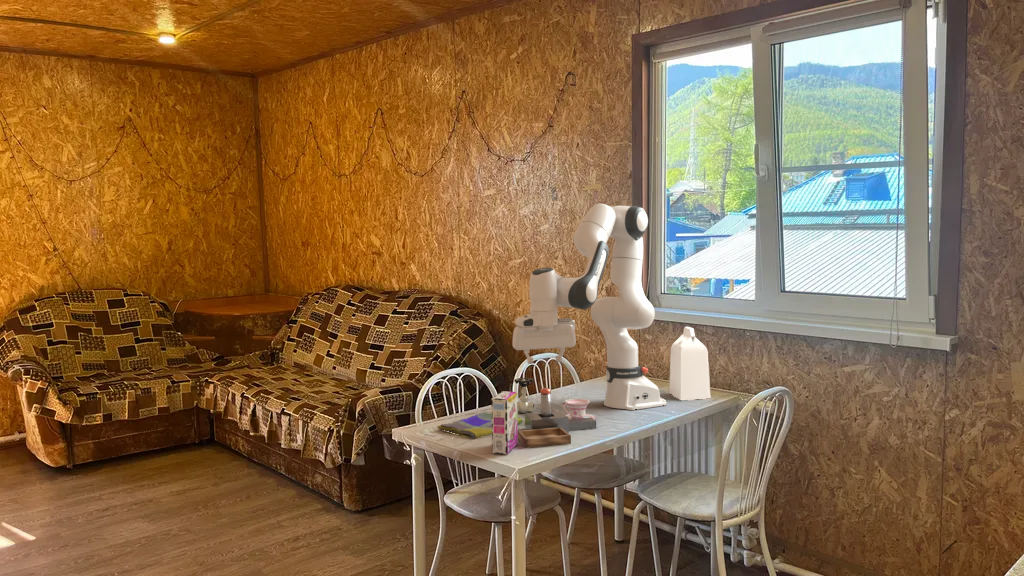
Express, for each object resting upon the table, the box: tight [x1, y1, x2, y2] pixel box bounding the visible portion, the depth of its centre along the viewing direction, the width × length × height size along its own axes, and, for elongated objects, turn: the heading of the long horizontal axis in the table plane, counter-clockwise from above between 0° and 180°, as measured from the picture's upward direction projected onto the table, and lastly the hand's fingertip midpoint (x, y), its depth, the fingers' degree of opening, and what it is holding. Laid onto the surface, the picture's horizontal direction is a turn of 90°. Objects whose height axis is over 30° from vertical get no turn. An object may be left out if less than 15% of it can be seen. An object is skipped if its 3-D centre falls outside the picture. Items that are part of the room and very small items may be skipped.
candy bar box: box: [491, 390, 519, 456], centre depth 228 cm, size 11×5×16 cm, turn 163°
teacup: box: [562, 398, 596, 420], centre depth 261 cm, size 12×12×6 cm
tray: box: [518, 427, 572, 448], centre depth 235 cm, size 14×10×2 cm
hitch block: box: [524, 410, 597, 434], centre depth 249 cm, size 22×9×5 cm, turn 103°
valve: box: [513, 377, 535, 414], centre depth 271 cm, size 7×7×12 cm
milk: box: [668, 326, 712, 401], centre depth 289 cm, size 12×12×26 cm
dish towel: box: [437, 411, 523, 440], centre depth 254 cm, size 18×24×3 cm
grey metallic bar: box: [540, 387, 552, 418], centre depth 247 cm, size 3×3×14 cm
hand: (544, 362), depth 246 cm, fingers open, 8 cm apart
